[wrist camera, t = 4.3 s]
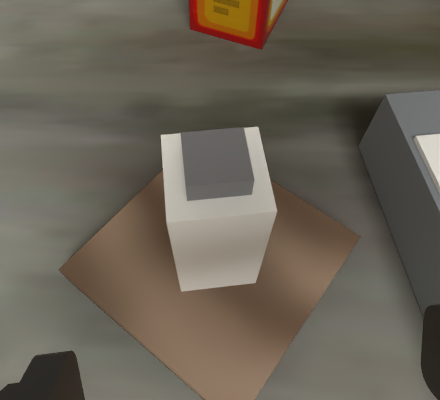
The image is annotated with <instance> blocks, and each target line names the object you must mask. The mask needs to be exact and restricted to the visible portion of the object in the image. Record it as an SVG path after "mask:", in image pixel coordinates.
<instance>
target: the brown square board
mask: <svg viewBox="0 0 440 400" xmlns="http://www.w3.org/2000/svg"><path fill="white" fill-rule="evenodd" d="M270 181H271V186H272V190H273V194H274V199H275V203H276V208H277V214H276V217H275V221H274V224H273V227H272V231H271V234H270V237H269V240H268V244H267V247H266V250H265V254H264V257H263V260H262V264H261V267H260V270H259V273H258V277H257V280H256V283H251V284H243V285H234V286H225V287H217V288H208V289H200V290H191V291H183V292H181V289H180V284H179V279H178V275H177V270H176V265H175V261H174V256H173V251H172V247H171V242H170V237H169V233H168V228H167V223H166V209H165V193H164V178H163V170H162V171H161V172H160V173H159V174H158V175H157V176H156V177H155V178H154V179H153V180H152V181H150V182H149V183H148V184H147V185H146V186H145V187H144V188H143V189H142V190H141V191H140V192H139V193H138V194H137V195H136V196H135V197H134V198H133V199H132V200H131V201H130V202H129V203H127V204H126V205H125V206H124V207H123V208H122V209H121V210H120V211H119V212H118V213H117V214H116V215H115V216H114V217H113V218H112V219H111V220H110V221H109V222H108V223H107V224H106V225H105V226H103V227H102V228H101V229H100V230H99V231H98V232H97V233H96V234H95V235H94V236H93V237H92V238H91V239H90V240H89V241H88V242H87V243H86V244H85V245H84V246H83V247H82V248H80V249H79V250H78V251H77V252H76V253H75V254H74V255H73V256H72V257H71V258H70V259H69V260H68V261H67V262H66V263H65V264H64V265H63V266H62V267H61V268H60V269H59V271H60V272H61V273H62V274H63V275H64V276H65V277H66V278H67V279H68V280H69V281H70V282H71V283H72V284H73V285H75V286H76V287H77V288H78V289H79V290H80V291H81V292H83V293H84V294H85V295H86V296H87V297H88V298H89V299H90V300H92V301H93V302H94V303H95V304H96V305H97V306H98V307H100V308H101V309H102V310H103V311H104V312H105V313H106V314H107V315H109V316H110V317H111V318H112V319H113V320H114V321H115V322H116V323H118V324H119V325H120V326H121V327H122V328H123V329H124V330H126V331H127V332H128V333H129V334H130V335H131V336H132V337H133V338H135V339H136V340H137V341H138V342H139V343H140V344H141V345H143V346H144V347H145V348H146V349H147V350H148V351H149V352H150V353H152V354H153V355H154V356H155V357H156V358H157V359H158V360H160V361H161V362H162V363H163V364H164V365H165V366H166V367H167V368H169V369H170V370H171V371H172V372H173V373H174V374H175V375H176V376H178V377H179V378H180V379H181V380H182V381H183V382H184V383H186V384H187V385H188V386H189V387H190V388H191V389H192V390H193V391H195V392H196V393H197V394H198V395H199V396H200V397H201V398H203V399H204V400H254V399H255V397H256V396H257V394H258V393H259V391H260V390H261V388H262V387H263V385H264V384H265V382H266V381H267V379H268V378H269V376H270V375H271V373H272V371H273V370H274V368H275V367H276V365H277V364H278V362H279V361H280V359H281V358H282V356H283V355H284V353H285V352H286V350H287V349H288V347H289V345H290V344H291V342H292V341H293V339H294V338H295V336H296V335H297V333H298V332H299V330H300V329H301V327H302V326H303V324H304V323H305V321H306V319H307V318H308V316H309V315H310V313H311V312H312V310H313V309H314V307H315V306H316V304H317V303H318V301H319V300H320V298H321V297H322V295H323V293H324V292H325V290H326V289H327V287H328V286H329V284H330V283H331V281H332V280H333V278H334V277H335V275H336V274H337V272H338V271H339V269H340V267H341V266H342V264H343V263H344V261H345V260H346V258H347V257H348V255H349V254H350V252H351V251H352V249H353V248H354V246H355V245H356V243H357V241H358V240H359V238H360V237H361V236H359V235H357V234H356V233H354V232H353V231H351V230H349V229H348V228H346V227H345V226H343V225H342V224H340V223H338V222H337V221H335V220H334V219H332V218H330V217H329V216H327V215H326V214H324V213H322V212H321V211H319V210H318V209H316V208H315V207H313V206H311V205H310V204H308V203H307V202H305V201H303V200H302V199H300V198H299V197H297V196H295V195H294V194H292V193H291V192H289V191H288V190H286V189H284V188H283V187H281V186H280V185H278V184H276V183H275V182H273V181H272V180H270Z"/></svg>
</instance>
